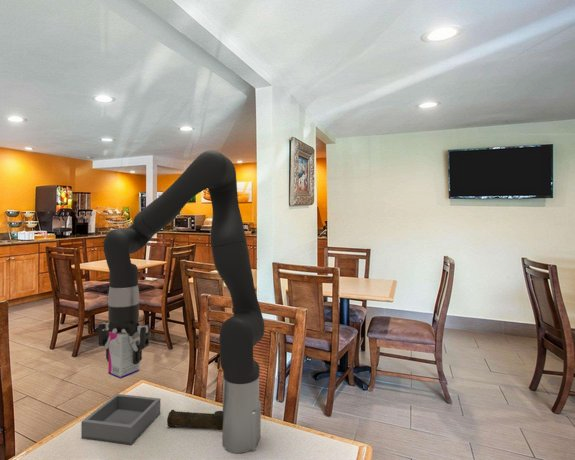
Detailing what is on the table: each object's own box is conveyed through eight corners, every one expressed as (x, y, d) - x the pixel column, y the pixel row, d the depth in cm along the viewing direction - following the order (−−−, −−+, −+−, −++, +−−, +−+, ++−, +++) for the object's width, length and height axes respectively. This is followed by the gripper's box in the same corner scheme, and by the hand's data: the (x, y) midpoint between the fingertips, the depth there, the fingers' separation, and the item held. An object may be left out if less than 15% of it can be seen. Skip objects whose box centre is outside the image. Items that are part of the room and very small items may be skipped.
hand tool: (165, 429, 93) (165, 412, 93) (172, 420, 97) (172, 404, 97) (233, 436, 91) (233, 419, 90) (237, 427, 95) (237, 410, 94)
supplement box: (140, 370, 94) (140, 330, 94) (120, 379, 89) (120, 336, 89) (127, 365, 97) (127, 326, 97) (107, 373, 92) (107, 332, 92)
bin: (160, 413, 100) (160, 398, 99) (131, 445, 86) (131, 427, 86) (116, 408, 102) (116, 393, 102) (81, 438, 88) (81, 421, 88)
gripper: (155, 300, 95) (155, 358, 96) (109, 297, 97) (109, 354, 98) (140, 307, 88) (140, 370, 88) (90, 304, 90) (90, 365, 91)
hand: (123, 361), depth 93 cm, fingers closed on supplement box, 7 cm apart
